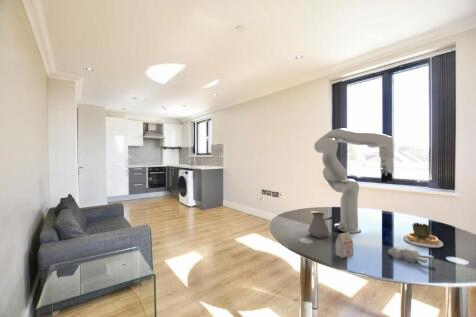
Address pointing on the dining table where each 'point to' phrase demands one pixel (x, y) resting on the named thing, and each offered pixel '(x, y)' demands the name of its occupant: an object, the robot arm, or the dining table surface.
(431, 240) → the rosette plate
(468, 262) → the dining table surface
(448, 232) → the dining table surface
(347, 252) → the milk carton
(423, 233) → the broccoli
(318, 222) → the coffee pot
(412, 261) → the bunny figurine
